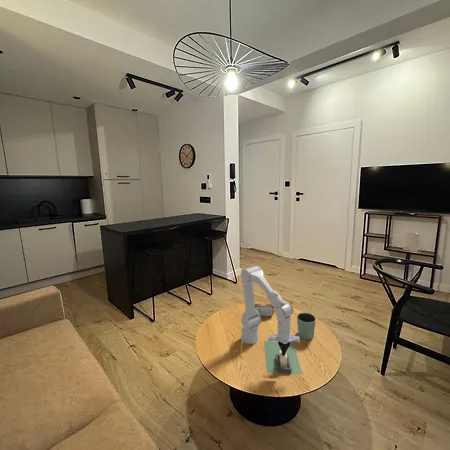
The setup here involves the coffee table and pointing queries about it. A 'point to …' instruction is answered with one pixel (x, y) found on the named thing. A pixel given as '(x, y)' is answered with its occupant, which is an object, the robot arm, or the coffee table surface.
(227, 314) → the coffee table surface
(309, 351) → the coffee table surface
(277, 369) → the board
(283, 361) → the cream rectangular block
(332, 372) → the coffee table surface
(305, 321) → the grey-green cup
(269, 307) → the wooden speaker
